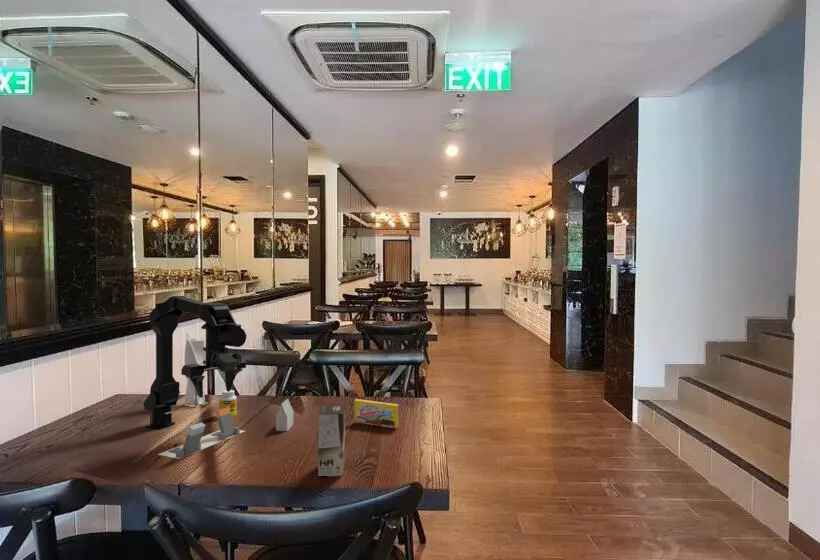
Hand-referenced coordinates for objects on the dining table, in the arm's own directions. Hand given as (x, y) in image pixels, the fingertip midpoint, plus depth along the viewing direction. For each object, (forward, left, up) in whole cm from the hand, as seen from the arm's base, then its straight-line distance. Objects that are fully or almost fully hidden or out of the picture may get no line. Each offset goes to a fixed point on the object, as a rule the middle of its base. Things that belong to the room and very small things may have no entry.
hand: (214, 394), depth 145 cm
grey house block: (+16, +14, -14) cm, 25 cm away
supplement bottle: (-10, +16, -14) cm, 24 cm away
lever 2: (+6, 0, -12) cm, 14 cm away
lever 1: (+6, -15, -12) cm, 20 cm away
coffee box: (+46, -5, -14) cm, 48 cm away
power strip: (+3, -6, -14) cm, 15 cm away
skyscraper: (-37, +26, -14) cm, 48 cm away
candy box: (+40, +32, -14) cm, 53 cm away
